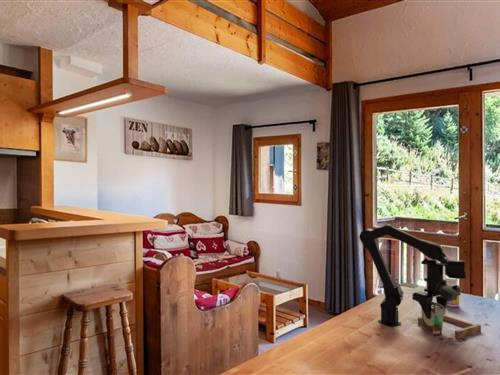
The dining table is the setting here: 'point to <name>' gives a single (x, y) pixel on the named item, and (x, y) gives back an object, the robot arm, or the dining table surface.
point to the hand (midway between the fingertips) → (435, 316)
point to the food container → (434, 319)
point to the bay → (462, 332)
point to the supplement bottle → (451, 283)
